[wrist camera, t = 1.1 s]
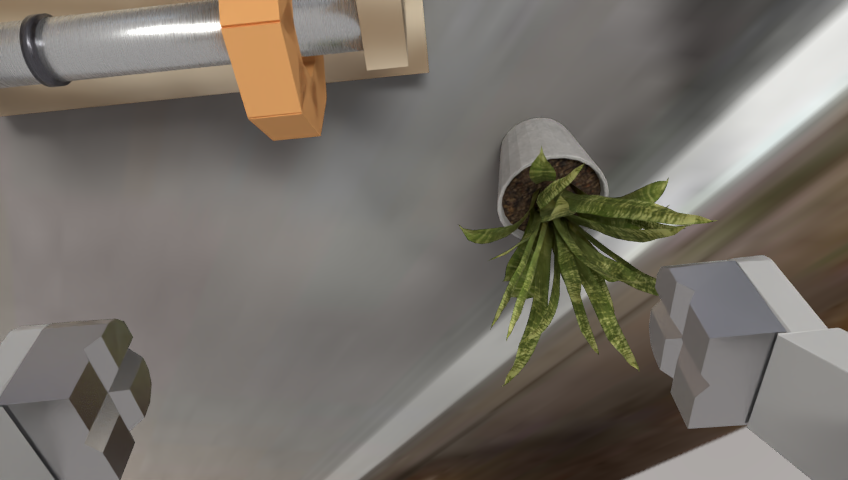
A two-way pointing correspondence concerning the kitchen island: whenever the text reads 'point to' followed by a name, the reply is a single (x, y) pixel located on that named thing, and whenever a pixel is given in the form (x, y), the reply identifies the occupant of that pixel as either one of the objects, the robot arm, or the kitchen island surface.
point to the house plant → (568, 232)
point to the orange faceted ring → (273, 68)
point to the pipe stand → (382, 57)
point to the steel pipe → (151, 40)
